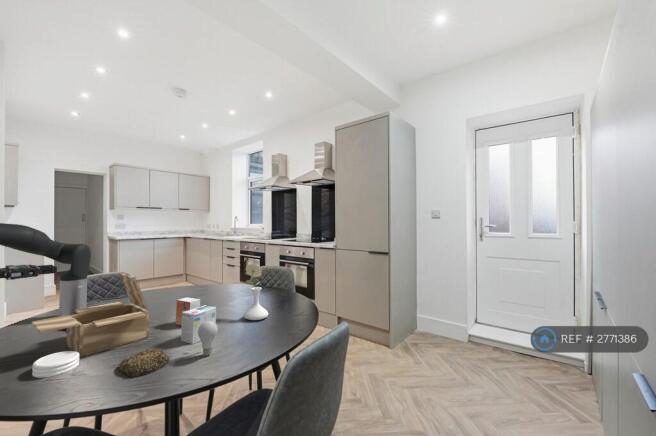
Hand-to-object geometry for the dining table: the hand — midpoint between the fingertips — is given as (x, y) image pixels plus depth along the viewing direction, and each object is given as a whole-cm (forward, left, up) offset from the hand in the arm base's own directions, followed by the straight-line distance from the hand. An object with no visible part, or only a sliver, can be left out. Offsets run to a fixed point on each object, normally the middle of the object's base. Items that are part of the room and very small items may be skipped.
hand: (54, 268), depth 92 cm
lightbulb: (+38, +31, -28) cm, 57 cm away
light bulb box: (+22, +37, -28) cm, 52 cm away
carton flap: (0, +25, -17) cm, 30 cm away
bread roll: (+30, +16, -29) cm, 44 cm away
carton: (0, +11, -28) cm, 30 cm away
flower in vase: (+20, +65, -28) cm, 74 cm away
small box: (+4, +42, -28) cm, 51 cm away
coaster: (+12, -1, -28) cm, 31 cm away
